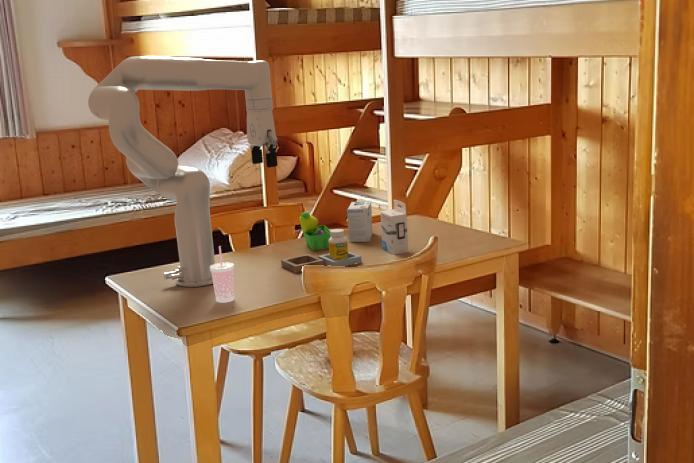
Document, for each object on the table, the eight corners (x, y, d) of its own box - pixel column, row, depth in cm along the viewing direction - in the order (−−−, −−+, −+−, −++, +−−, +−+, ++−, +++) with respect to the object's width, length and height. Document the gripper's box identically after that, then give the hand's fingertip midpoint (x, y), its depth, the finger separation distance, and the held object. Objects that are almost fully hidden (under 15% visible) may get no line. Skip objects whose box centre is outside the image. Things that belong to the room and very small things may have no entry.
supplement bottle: (342, 259, 239) (340, 227, 237) (352, 262, 235) (350, 230, 233) (326, 263, 236) (324, 230, 234) (336, 266, 232) (334, 233, 230)
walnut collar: (295, 273, 228) (295, 266, 228) (281, 266, 236) (280, 259, 235) (324, 266, 233) (323, 260, 232) (309, 260, 240) (308, 253, 240)
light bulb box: (353, 233, 269) (350, 201, 266) (373, 233, 268) (371, 200, 265) (348, 242, 258) (346, 208, 256) (369, 241, 257) (367, 207, 255)
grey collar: (334, 269, 230) (333, 262, 229) (318, 262, 237) (318, 256, 237) (361, 262, 234) (361, 256, 234) (345, 256, 242) (345, 250, 241)
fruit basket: (333, 248, 252) (331, 212, 249) (305, 252, 250) (302, 216, 247) (325, 240, 263) (323, 205, 260) (298, 243, 261) (295, 209, 258)
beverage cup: (236, 302, 207) (231, 248, 203) (212, 304, 206) (206, 250, 203) (237, 295, 212) (232, 242, 209) (214, 297, 212) (208, 244, 209)
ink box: (381, 248, 248) (378, 201, 244) (396, 246, 250) (393, 198, 246) (394, 255, 240) (391, 205, 237) (409, 252, 242) (406, 203, 238)
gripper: (235, 105, 239) (240, 163, 243) (260, 107, 224) (265, 170, 228) (258, 102, 242) (263, 160, 246) (284, 105, 228) (290, 166, 232)
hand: (264, 165), depth 237 cm, fingers open, 9 cm apart
